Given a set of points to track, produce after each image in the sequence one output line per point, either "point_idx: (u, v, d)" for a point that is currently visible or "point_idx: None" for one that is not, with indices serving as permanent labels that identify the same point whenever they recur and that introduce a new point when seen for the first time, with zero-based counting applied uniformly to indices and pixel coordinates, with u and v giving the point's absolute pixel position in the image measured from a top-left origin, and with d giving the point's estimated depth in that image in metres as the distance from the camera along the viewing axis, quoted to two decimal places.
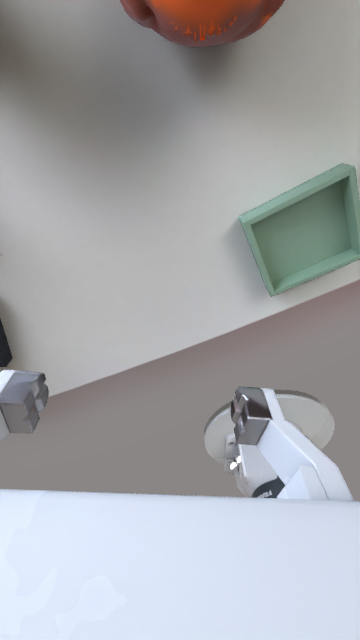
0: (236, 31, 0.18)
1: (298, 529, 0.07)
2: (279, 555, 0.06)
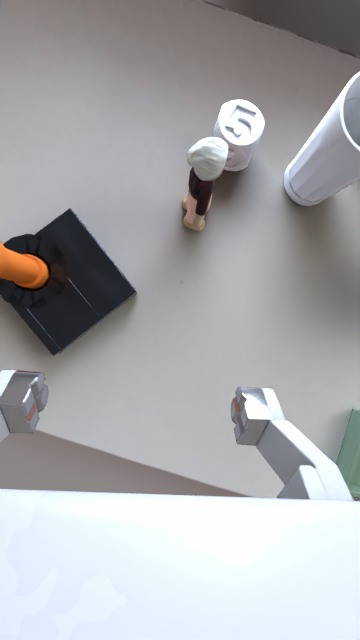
0: None
1: (298, 529, 0.07)
2: (279, 555, 0.06)
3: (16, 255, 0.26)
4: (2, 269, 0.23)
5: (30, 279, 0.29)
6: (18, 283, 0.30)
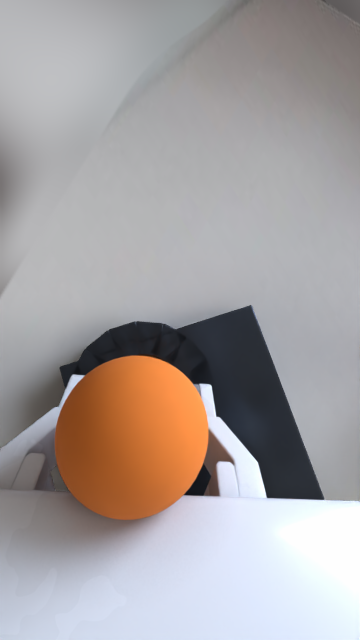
0: None
1: (298, 529, 0.07)
2: (279, 555, 0.06)
3: None
4: None
5: None
6: None
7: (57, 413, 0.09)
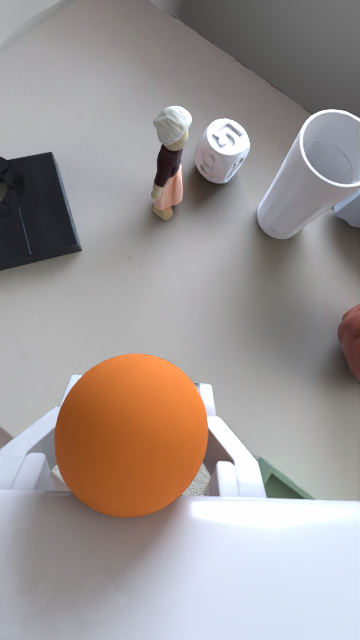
0: None
1: (298, 529, 0.07)
2: (279, 555, 0.06)
3: None
4: None
5: None
6: None
7: (57, 413, 0.09)
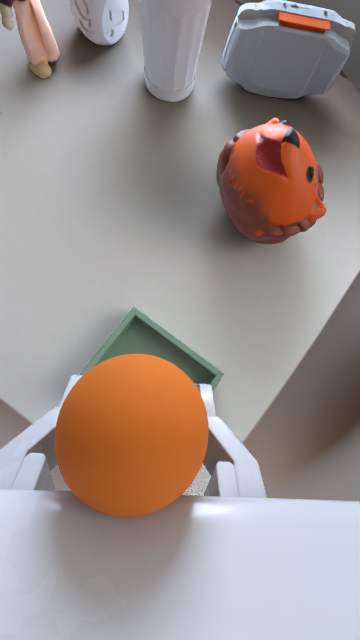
0: (246, 212, 0.26)
1: (298, 529, 0.07)
2: (279, 555, 0.06)
3: None
4: None
5: None
6: None
7: (57, 413, 0.09)
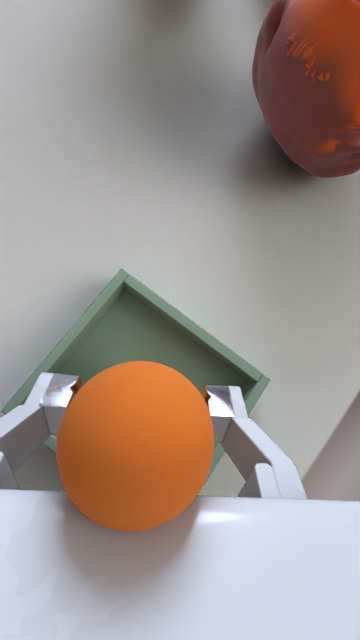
0: (312, 105, 0.15)
1: (298, 529, 0.07)
2: (279, 555, 0.06)
3: None
4: None
5: None
6: None
7: (21, 411, 0.09)
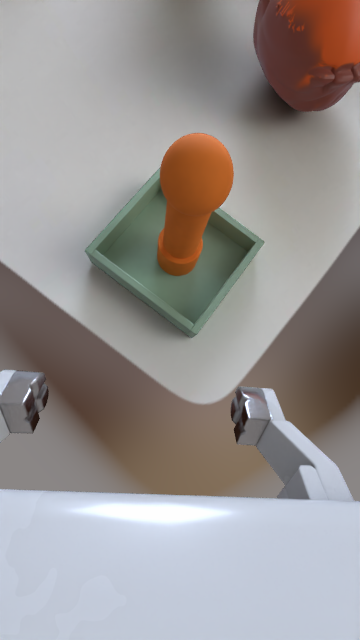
0: (293, 50, 0.22)
1: (298, 529, 0.07)
2: (279, 555, 0.06)
3: None
4: (217, 207, 0.14)
5: (187, 253, 0.21)
6: (164, 254, 0.21)
7: None
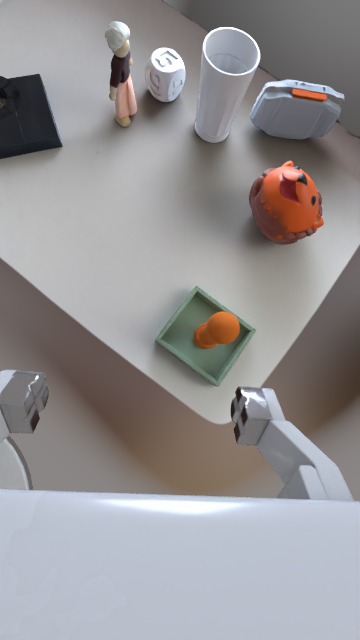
0: (271, 223, 0.40)
1: (298, 529, 0.07)
2: (279, 555, 0.06)
3: None
4: None
5: None
6: (200, 342, 0.39)
7: None
